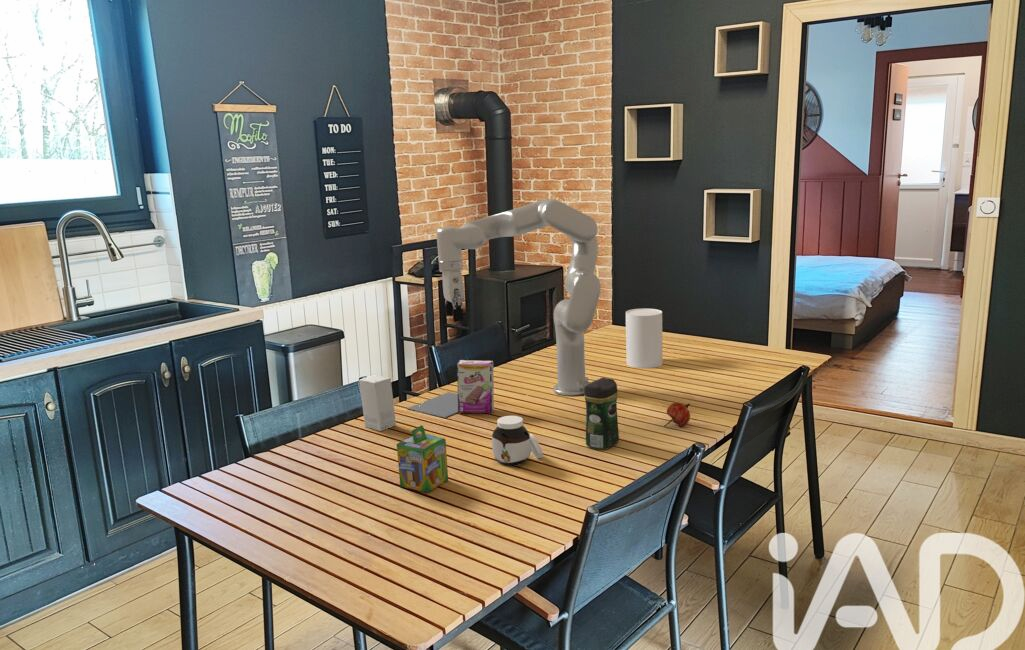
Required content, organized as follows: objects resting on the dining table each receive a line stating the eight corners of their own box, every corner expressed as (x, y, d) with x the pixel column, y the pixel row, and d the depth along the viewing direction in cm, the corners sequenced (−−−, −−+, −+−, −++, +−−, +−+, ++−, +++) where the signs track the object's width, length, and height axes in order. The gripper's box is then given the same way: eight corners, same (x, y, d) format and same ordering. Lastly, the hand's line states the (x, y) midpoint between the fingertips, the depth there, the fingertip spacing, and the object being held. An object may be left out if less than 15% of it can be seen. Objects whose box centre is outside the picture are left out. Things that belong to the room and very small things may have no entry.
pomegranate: (673, 438, 223) (700, 417, 222) (657, 419, 223) (684, 397, 222) (669, 432, 231) (696, 411, 230) (654, 413, 230) (680, 392, 229)
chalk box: (427, 494, 189) (423, 437, 186) (398, 487, 194) (394, 431, 191) (450, 480, 197) (446, 425, 193) (421, 473, 201) (417, 419, 198)
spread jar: (488, 461, 207) (486, 420, 205) (517, 448, 215) (515, 408, 213) (521, 472, 199) (519, 429, 197) (549, 458, 207) (548, 417, 205)
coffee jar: (598, 436, 222) (597, 374, 218) (623, 441, 217) (622, 377, 213) (580, 447, 214) (578, 383, 210) (605, 452, 209) (604, 387, 205)
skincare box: (396, 426, 238) (392, 377, 234) (379, 432, 233) (375, 383, 230) (379, 420, 243) (375, 373, 240) (362, 426, 239) (358, 378, 235)
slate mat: (485, 401, 258) (485, 399, 258) (444, 418, 243) (444, 417, 243) (448, 393, 268) (448, 392, 268) (406, 409, 253) (406, 408, 253)
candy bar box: (457, 413, 246) (456, 364, 242) (460, 408, 251) (458, 359, 247) (492, 414, 245) (491, 364, 241) (494, 408, 250) (493, 360, 246)
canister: (626, 358, 301) (625, 308, 297) (661, 358, 299) (661, 308, 295) (626, 368, 288) (625, 316, 284) (663, 368, 286) (663, 315, 282)
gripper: (469, 268, 239) (473, 321, 243) (455, 261, 255) (459, 312, 259) (445, 270, 237) (449, 324, 241) (433, 263, 253) (437, 314, 257)
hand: (454, 318), depth 250 cm, fingers open, 9 cm apart
